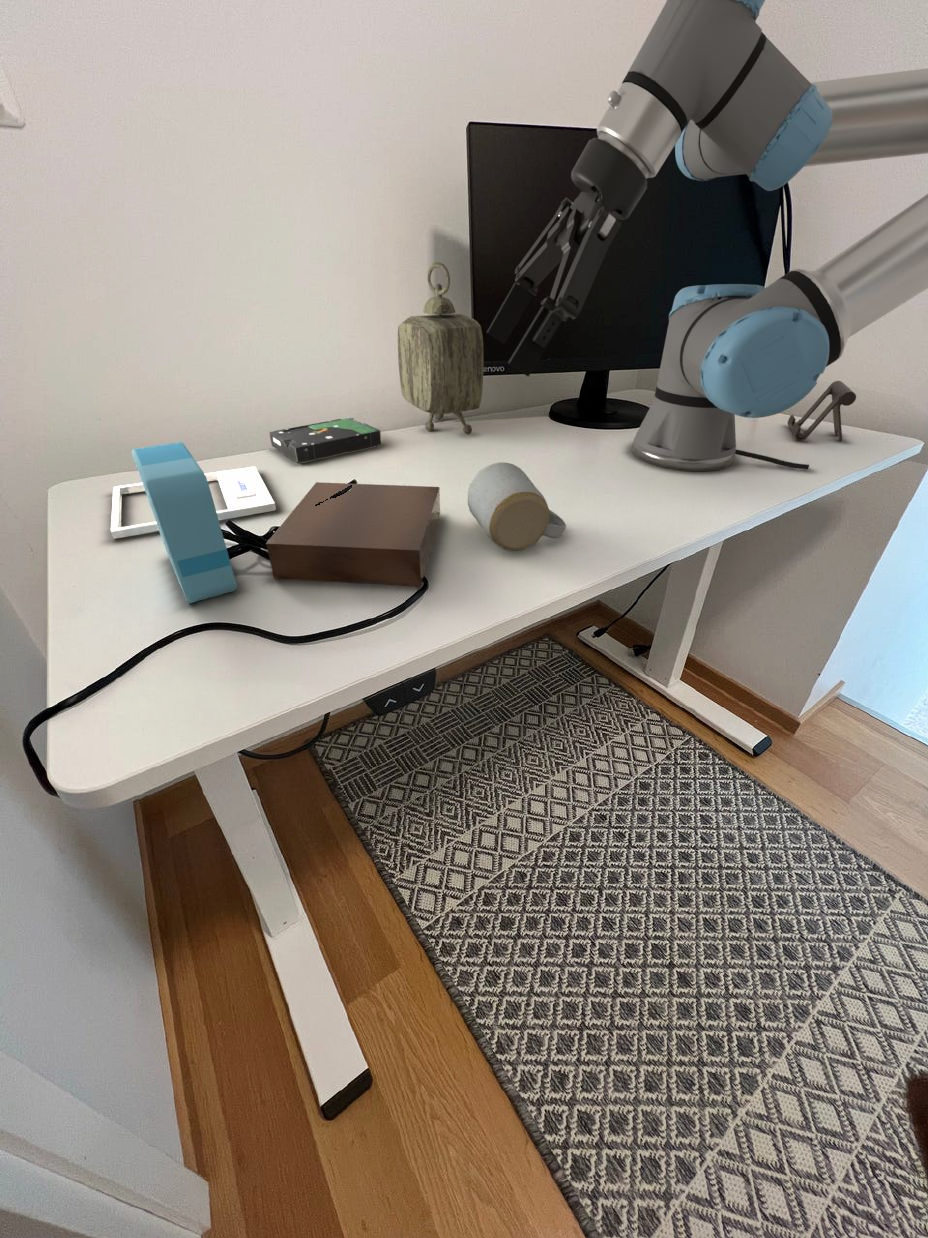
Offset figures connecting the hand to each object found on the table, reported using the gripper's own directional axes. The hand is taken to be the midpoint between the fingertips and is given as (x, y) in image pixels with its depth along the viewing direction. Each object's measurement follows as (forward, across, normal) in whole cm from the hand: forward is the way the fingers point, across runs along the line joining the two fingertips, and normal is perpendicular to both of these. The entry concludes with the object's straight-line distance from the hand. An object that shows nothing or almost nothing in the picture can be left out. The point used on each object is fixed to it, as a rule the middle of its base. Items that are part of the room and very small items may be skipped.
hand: (505, 352), depth 66 cm
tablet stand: (-14, -14, +60) cm, 64 cm away
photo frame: (+35, +3, -26) cm, 44 cm away
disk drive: (+29, -18, -12) cm, 36 cm away
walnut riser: (+22, +18, -8) cm, 30 cm away
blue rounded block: (+31, +22, -22) cm, 44 cm away
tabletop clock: (+20, -26, +5) cm, 33 cm away
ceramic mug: (+14, +17, +7) cm, 23 cm away
